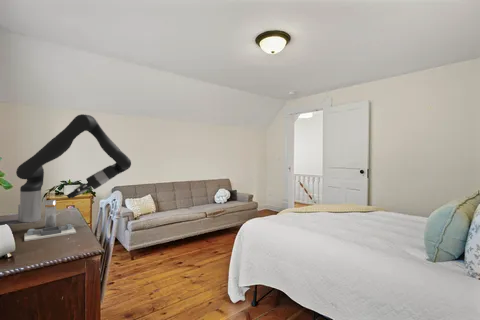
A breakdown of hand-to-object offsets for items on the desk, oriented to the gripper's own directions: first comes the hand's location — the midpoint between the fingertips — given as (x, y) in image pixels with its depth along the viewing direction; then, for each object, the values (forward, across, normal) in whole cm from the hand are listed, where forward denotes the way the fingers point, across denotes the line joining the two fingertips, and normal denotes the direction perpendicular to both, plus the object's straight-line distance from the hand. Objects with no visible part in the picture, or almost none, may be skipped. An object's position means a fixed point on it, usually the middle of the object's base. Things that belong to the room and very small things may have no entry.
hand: (69, 196), depth 133 cm
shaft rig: (+14, +12, +12) cm, 22 cm away
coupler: (+15, -2, +8) cm, 18 cm away
